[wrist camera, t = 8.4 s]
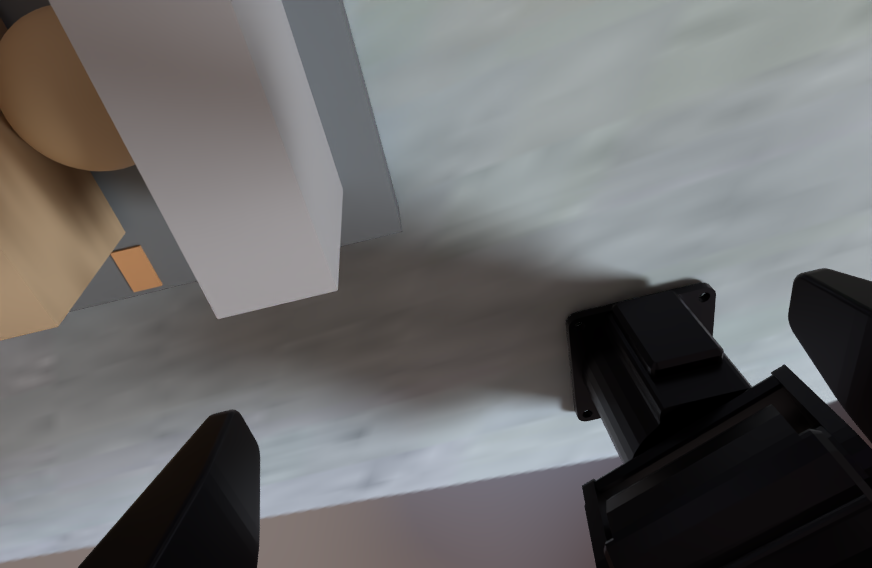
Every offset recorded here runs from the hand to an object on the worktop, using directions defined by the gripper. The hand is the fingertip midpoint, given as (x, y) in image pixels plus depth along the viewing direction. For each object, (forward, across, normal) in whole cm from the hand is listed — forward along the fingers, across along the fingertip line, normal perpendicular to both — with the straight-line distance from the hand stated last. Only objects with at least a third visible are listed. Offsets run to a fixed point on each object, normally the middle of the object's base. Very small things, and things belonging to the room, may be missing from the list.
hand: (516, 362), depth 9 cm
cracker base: (+13, +14, -4) cm, 19 cm away
